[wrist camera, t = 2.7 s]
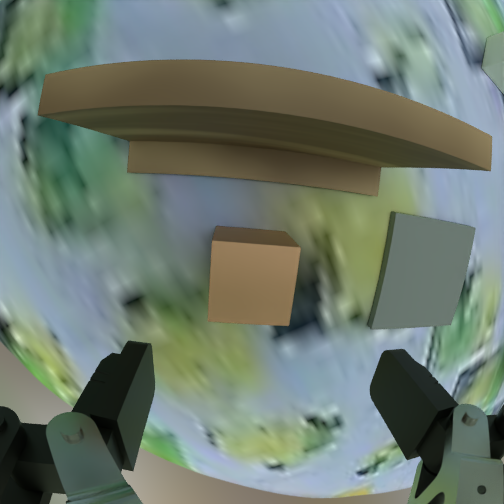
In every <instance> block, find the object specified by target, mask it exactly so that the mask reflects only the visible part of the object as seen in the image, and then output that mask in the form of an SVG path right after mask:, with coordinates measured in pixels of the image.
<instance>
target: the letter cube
mask: <svg viewBox="0 0 504 504" xmlns="http://www.w3.org/2000/svg"><path fill="white" fill-rule="evenodd" d="M300 250H301V247H300V246H299V245H298V244H297V243H296V242H295V241H294V240H293V239H292V238H291V237H290V236H289V235H288V234H287V233H286V232H284V231H273V230H261V229H250V228H237V227H225V226H216V228H215V232H214V236H213V239H212V250H211V266H210V284H209V304H208V321H209V322H222V323H238V324H256V325H281V326H289V322H290V316H291V310H292V303H293V297H294V291H295V284H296V278H297V271H298V264H299V257H300Z"/></svg>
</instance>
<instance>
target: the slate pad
mask: <svg viewBox="0 0 504 504" xmlns="http://www.w3.org/2000/svg"><path fill="white" fill-rule="evenodd" d="M474 234H475V228H474V227H471V226H467V225H462V224H457V223H452V222H447V221H442V220H437V219H432V218H426V217H421V216H415V215H409V214H404V213H398V212H392V211H391V216H390V223H389V229H388V235H387V241H386V247H385V252H384V257H383V262H382V267H381V272H380V277H379V281H378V286H377V290H376V294H375V298H374V303H373V307H372V311H371V314H370V318H369V322H368V326H369V327H370V329H396V328H415V327H430V326H443V325H451V323H452V320H453V317H454V314H455V311H456V307H457V304H458V301H459V298H460V294H461V291H462V287H463V283H464V279H465V276H466V272H467V267H468V263H469V259H470V254H471V249H472V245H473V239H474Z"/></svg>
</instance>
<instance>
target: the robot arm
mask: <svg viewBox="0 0 504 504" xmlns="http://www.w3.org/2000/svg"><path fill="white" fill-rule="evenodd" d="M154 391H155V377H154V366H153V354H152V346H151V344H150V343H143V342H136V341H128V342H127V343H126V345H125V347H124V348H123V350H122V352H121V354H116V353H111V354H110V355H109V356H107V357H106V358H104V359H103V360H101V362H100V364H99V365H98V367H97V368H96V370H95V373H93V375H92V377H91V379H90V381H89V382H88V384H87V385H86V387H85V389H84V390H83V392H82V394H81V396H80V397H79V399H78V401H77V403H76V404H75V406H74V408H73V410H72V411H71V412H66V413H62V414H59V415H57V416H55V417H54V418H53V419H52V420H51V421H50V422H49V423H48V425H41V424H29V423H21V422H20V420H19V418H18V416H17V414H16V413H15V412H14V411H13V410H11V409H9V408H7V407H3V406H0V504H49V503H50V500H51V496H52V493H60V494H66V495H67V498H68V501H66V504H143V503H142V502H141V500H140V499H139V497H138V496H137V494H136V493H135V492H134V490H133V489H132V487H131V486H130V485H128V484H127V482H126V480H125V479H124V477H123V475H122V474H121V471H122V469H125V470H129V471H133V470H134V466H135V463H136V458H137V455H138V451H139V447H140V443H141V440H142V436H143V432H144V429H145V425H146V422H147V418H148V415H149V411H150V408H151V404H152V401H153V397H154ZM370 396H371V399H372V401H373V402H374V404H375V406H376V408H377V409H378V411H379V413H380V414H381V416H382V418H383V419H384V421H385V423H386V425H387V426H388V428H389V430H390V431H391V433H392V435H393V437H394V438H395V440H396V442H397V444H398V445H399V447H400V449H401V451H402V452H403V454H404V456H405V458H406V459H407V460H409V459H413V458H416V457H419V456H420V457H421V461H420V462H419V464H418V466H417V470H416V474H415V478H414V482H413V486H412V489H411V493H410V497H409V500H408V503H407V504H504V464H503V462H502V460H501V458H502V457H503V456H504V405H503V406H502V408H501V409H500V411H499V413H498V414H497V415H486V414H485V413H484V412H483V411H482V410H481V409H480V408H478V407H476V406H474V405H471V404H461V405H458V404H457V402H456V401H455V400H454V399H453V398H452V397H451V396H450V394H449V393H448V392H447V391H446V390H445V389H444V388H443V387H442V385H441V384H440V383H439V384H438V381H437V380H436V379H435V378H434V377H432V374H431V373H430V372H429V371H428V370H427V369H426V368H425V367H424V366H422V365H421V364H419V363H418V362H416V361H415V360H414V359H413V358H412V357H411V356H410V355H409V354H408V353H407V352H406V351H405V350H404V349H396V350H385V351H384V352H383V353H382V354H381V357H380V360H379V363H378V365H377V368H376V371H375V374H374V376H373V379H372V382H371V385H370Z"/></svg>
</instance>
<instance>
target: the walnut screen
mask: <svg viewBox="0 0 504 504" xmlns="http://www.w3.org/2000/svg"><path fill="white" fill-rule="evenodd" d="M38 115H39V116H43V117H47V118H50V119H54V120H58V121H62V122H66V123H69V124H73V125H77V126H80V127H84V128H87V129H91V130H94V131H98V132H101V133H105V134H108V135H111V136H114V137H118V138H121V139H124V140H127V141H130V145H129V156H128V168H127V173H162V174H184V175H201V176H215V177H228V178H240V179H251V180H261V181H271V182H280V183H289V184H297V185H305V186H313V187H320V188H327V189H334V190H341V191H348V192H354V193H360V194H366V195H372V196H378V190H379V181H380V172H381V167H413V168H449V169H468V170H483V171H491V158H492V136H490V135H489V134H487V133H485V132H483V131H481V130H479V129H477V128H475V127H473V126H471V125H469V124H467V123H465V122H463V121H461V120H459V119H456V118H454V117H452V116H450V115H447V114H445V113H443V112H440V111H438V110H436V109H433V108H431V107H428V106H426V105H423V104H421V103H418V102H415V101H413V100H410V99H407V98H404V97H402V96H399V95H396V94H393V93H390V92H387V91H383V90H380V89H377V88H374V87H370V86H367V85H363V84H360V83H356V82H352V81H348V80H344V79H340V78H336V77H332V76H327V75H322V74H318V73H313V72H308V71H302V70H296V69H291V68H284V67H277V66H270V65H262V64H254V63H244V62H232V61H216V60H148V61H133V62H121V63H112V64H103V65H96V66H89V67H82V68H76V69H71V70H65V71H60V72H56V73H51V74H47V75H45V79H44V84H43V89H42V94H41V99H40V105H39V111H38Z"/></svg>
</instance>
